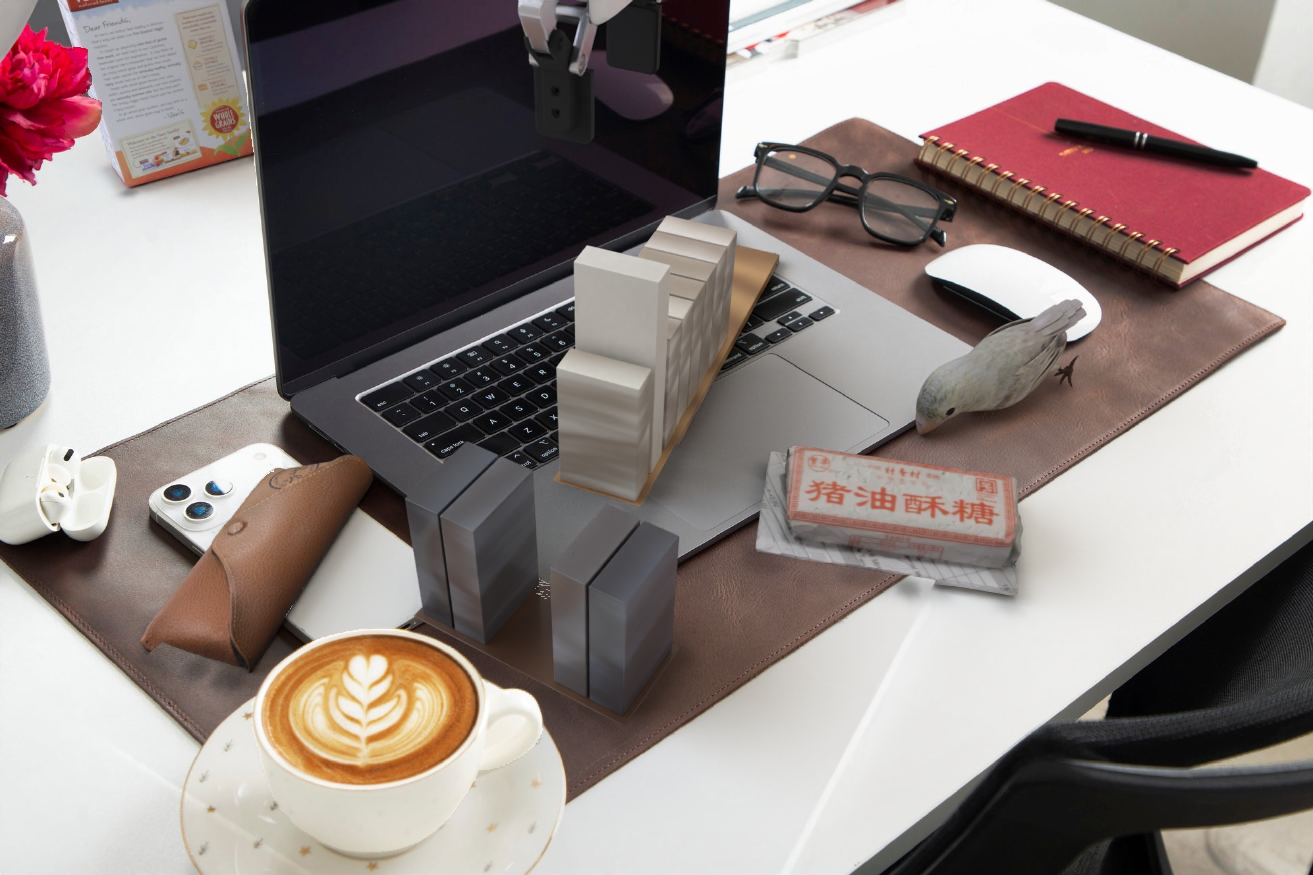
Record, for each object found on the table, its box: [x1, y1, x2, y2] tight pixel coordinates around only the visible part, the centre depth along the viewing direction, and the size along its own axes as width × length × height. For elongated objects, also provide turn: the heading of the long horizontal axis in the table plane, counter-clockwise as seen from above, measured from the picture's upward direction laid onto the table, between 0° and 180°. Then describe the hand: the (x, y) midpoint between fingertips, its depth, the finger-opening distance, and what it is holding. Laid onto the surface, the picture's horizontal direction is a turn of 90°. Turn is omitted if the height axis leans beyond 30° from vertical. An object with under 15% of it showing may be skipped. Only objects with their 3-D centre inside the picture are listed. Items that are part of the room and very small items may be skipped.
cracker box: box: [56, 0, 254, 188], centre depth 112 cm, size 14×6×21 cm, turn 126°
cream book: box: [573, 245, 671, 473], centre depth 80 cm, size 2×6×17 cm, turn 69°
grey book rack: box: [404, 441, 682, 727], centre depth 70 cm, size 16×7×12 cm, turn 60°
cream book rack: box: [552, 215, 780, 508], centre depth 92 cm, size 36×7×12 cm, turn 159°
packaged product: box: [755, 445, 1024, 597], centre depth 81 cm, size 18×5×10 cm
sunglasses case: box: [139, 454, 374, 674], centre depth 77 cm, size 18×7×7 cm, turn 166°
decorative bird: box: [915, 298, 1088, 436], centre depth 91 cm, size 5×16×8 cm, turn 123°
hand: (600, 101), depth 65 cm, fingers open, 9 cm apart
